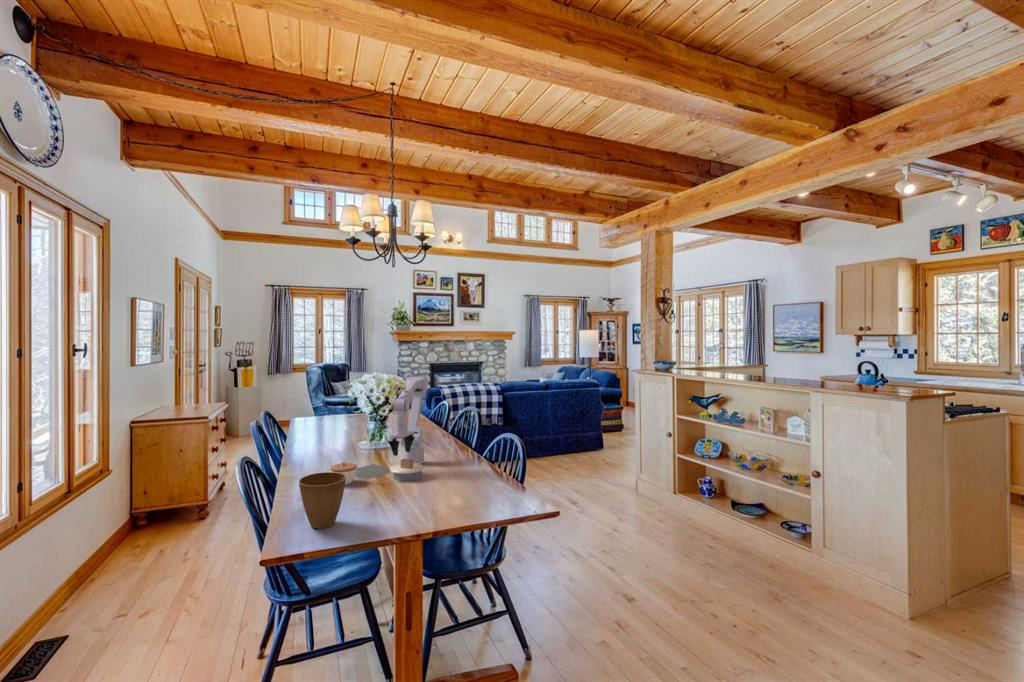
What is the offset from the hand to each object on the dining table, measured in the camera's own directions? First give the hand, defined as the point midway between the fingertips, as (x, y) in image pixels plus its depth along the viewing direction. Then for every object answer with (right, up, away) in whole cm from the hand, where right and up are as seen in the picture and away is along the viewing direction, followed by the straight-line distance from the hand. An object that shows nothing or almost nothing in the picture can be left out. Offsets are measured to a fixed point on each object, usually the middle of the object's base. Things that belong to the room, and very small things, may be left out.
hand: (401, 453), depth 224 cm
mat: (-15, -9, +3) cm, 18 cm away
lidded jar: (-21, -10, -15) cm, 28 cm away
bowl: (+4, -9, -6) cm, 12 cm away
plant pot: (-13, -11, -60) cm, 62 cm away
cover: (+4, -6, -6) cm, 9 cm away
